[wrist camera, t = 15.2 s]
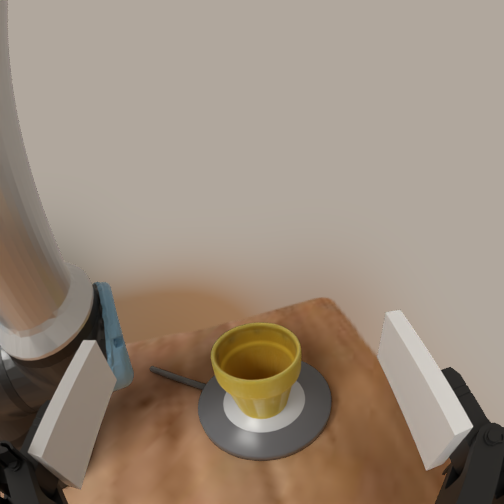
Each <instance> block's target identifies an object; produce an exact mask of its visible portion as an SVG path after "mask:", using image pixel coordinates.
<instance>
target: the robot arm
mask: <svg viewBox="0 0 504 504" xmlns="http://www.w3.org/2000/svg"><path fill="white" fill-rule="evenodd" d="M7 8H8V0H0V491H1V492H2V493H4V498H2V497H0V504H68V502H67V500H66V498H65V496H64V493H63V491H62V488H64V487H66V486H71V487H75V488H78V489H81V487H82V484H83V480H84V477H85V473H86V470H87V467H88V463H89V460H90V457H91V453H92V450H93V447H94V444H95V441H96V438H97V435H98V432H99V429H100V426H101V423H102V420H103V417H104V414H105V411H106V408H107V406H108V403H109V400H110V397H111V395H112V392H114V391H117V390H119V389H122V388H125V387H127V386H128V385H130V384H131V382H132V381H133V377H134V372H133V368H132V365H131V362H130V359H129V355H128V352H127V349H126V345H125V342H124V339H123V335H122V331H121V327H120V324H119V320H118V316H117V312H116V308H115V304H114V299H113V295H112V291H111V287H110V285H109V284H108V283H106V282H101V283H99V282H96V283H94V284H93V285H92V283H91V280H90V278H89V277H88V275H87V274H86V272H85V271H84V270H83V269H82V268H80V267H79V266H77V265H75V264H72V263H69V262H65V261H64V259H63V257H62V254H61V252H60V250H59V248H58V245H57V243H56V240H55V238H54V235H53V233H52V231H51V228H50V225H49V223H48V220H47V217H46V214H45V212H44V209H43V206H42V203H41V201H40V197H39V194H38V191H37V188H36V186H35V182H34V179H33V176H32V172H31V169H30V166H29V162H28V158H27V154H26V151H25V147H24V143H23V138H22V134H21V130H20V125H19V120H18V116H17V110H16V105H15V98H14V92H13V85H12V78H11V69H10V59H9V47H8V24H7V23H8V15H7V14H8V9H7ZM377 358H378V360H379V362H380V364H381V366H382V369H383V371H384V373H385V375H386V377H387V379H388V381H389V384H390V386H391V388H392V390H393V392H394V395H395V397H396V399H397V401H398V403H399V406H400V408H401V410H402V413H403V415H404V417H405V420H406V422H407V424H408V427H409V429H410V431H411V434H412V436H413V439H414V441H415V443H416V446H417V448H418V451H419V453H420V456H421V458H422V461H423V464H424V466H425V469H426V471H427V470H430V469H432V468H434V467H437V466H439V465H441V464H443V463H444V462H445V461H446V460H447V459H448V458H450V460H451V462H452V463H451V464H450V465H449V466H448V467H447V468H446V469H445V470H444V472H443V473H442V475H445V474H446V473H447V474H446V477H445V480H444V482H443V485H442V487H441V490H440V492H439V495H438V497H437V500H436V502H435V504H504V427H501V426H500V425H499V424H496V423H491V422H490V421H489V420H488V419H487V417H486V416H485V414H484V412H483V410H482V409H481V407H480V405H479V404H478V402H477V400H476V399H475V397H474V396H473V394H472V393H471V391H470V389H469V388H468V386H466V383H465V381H464V380H463V378H462V377H461V375H460V374H459V373H458V372H457V371H455V370H454V369H453V368H451V367H449V368H446V369H443V370H440V369H439V367H438V365H437V364H436V362H435V360H434V359H433V357H432V356H431V354H430V353H429V351H428V350H427V348H426V347H425V345H424V343H423V342H422V341H421V339H420V337H419V336H418V334H417V333H416V331H415V330H414V329H413V327H412V326H411V324H410V323H409V321H408V320H407V318H406V317H405V316H404V314H403V313H402V311H401V310H396V311H391V312H386V313H385V318H384V324H383V329H382V335H381V340H380V345H379V350H378V355H377Z"/></svg>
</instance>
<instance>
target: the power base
mask: <svg viewBox="0 0 504 504" xmlns="http://www.w3.org/2000/svg"><path fill="white" fill-rule="evenodd" d="M150 371H152V372H154V373H157V374H159V375H162V376H164V377H167V378H170V379H173V380H175V381H178V382H181V383H184V384H187V385H190V386H193V387H196V388H199V389H202V390H203V391H202V393H201V395H200V399H199V403H198V414H199V418H200V422H201V424H202V426H203V428H204V431H205V433H206V434H207V436H208V437H209V439H210V440H211V441H212V442H213V443H214V444H215V445H216V446H217V447H219V448H220V449H221V450H223V451H225V452H226V453H228V454H230V455H233V456H235V457H238V458H242V459H246V460H254V461H268V460H276V459H280V458H284V457H287V456H290V455H293V454H295V453H297V452H299V451H301V450H303V449H304V448H306V447H307V446H309V445H310V444H311V443H312V442H313V441H315V440H316V439H317V438H318V436H319V435H320V434H321V433H322V431H323V430H324V428H325V426H326V424H327V422H328V419H329V416H330V411H331V392H330V389H329V386H328V384H327V382H326V380H325V379H324V377H323V376H322V375H321V374H320V373H319V372H318V371H317V370H316V369H315V368H313V367H312V366H310V365H309V364H307V363H305V362H303V361H301V370H300V374H299V377H298V379H297V380H296V382H295V383H294V384H293V385H292V387H291V391H290V394H289V398H288V401H287V404H286V406H285V408H284V409H283V410H282V411H281V412H280V413H279V414H277V415H276V416H274V417H271V418H267V419H256V418H251V417H249V416H247V415H245V414H244V413H243V412H242V411H241V410H240V408H239V407H238V405H237V404H236V402H235V401H234V399H233V398H232V396H231V395H230V394H229V393H228V392H226V391H225V390H224V389H223V388H222V387H221V386H220V384H219V383H218V381H217V379H216V376H215V375H214V376H213V377H212V378H211V379H210V380H209V382H208V383H207V384H204V383H201V382H197V381H194V380H191V379H188V378H185V377H182V376H179V375H176V374H174V373H171V372H168V371H165V370H162V369H160V368H157V367H154V366H151V367H150Z"/></svg>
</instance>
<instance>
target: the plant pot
mask: <svg viewBox="0 0 504 504" xmlns="http://www.w3.org/2000/svg"><path fill="white" fill-rule="evenodd" d="M211 362H212V367H213V370H214V373H215V376H216V379H217V381H218V383H219V384H220V386H221V387H222V388H223V389H224V390H225V391H226V392H228V393H229V394H230V395H231V396H232V398H233V399H234V401H235V402H236V404H237V405H238V407H239V408H240V410H241V411H242V412H243V413H244V414H245V415H247V416H249V417H251V418H256V419H267V418H271V417H274V416H276V415H277V414H279V413H280V412H281V411H282V410H283V409H284V408H285V406H286V404H287V401H288V398H289V394H290V391H291V387H292V385H293V384H294V383H295V382H296V380H297V379H298V377H299V374H300V370H301V345H300V342H299V340H298V338H297V337H296V336H295V335H294V334H293V333H292V332H291V331H290V330H288V329H286V328H285V327H282V326H280V325H276V324H272V323H250V324H244V325H241V326H238V327H235V328H233V329H231V330H229V331H227V332H226V333H224V334H223V335H222V336H220V337H219V338H218V339H217V341H216V342H215V344H214V345H213V347H212V350H211Z"/></svg>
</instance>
